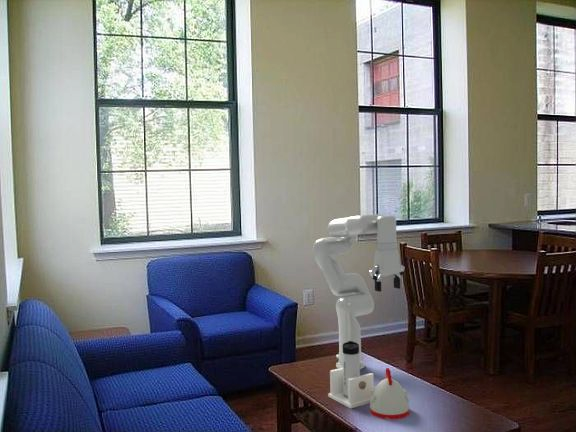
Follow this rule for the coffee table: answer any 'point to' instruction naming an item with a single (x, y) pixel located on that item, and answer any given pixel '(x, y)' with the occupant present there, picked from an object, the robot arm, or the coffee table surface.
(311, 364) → the coffee table surface
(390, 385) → the kitchen timer
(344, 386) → the travel mug
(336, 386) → the holder
